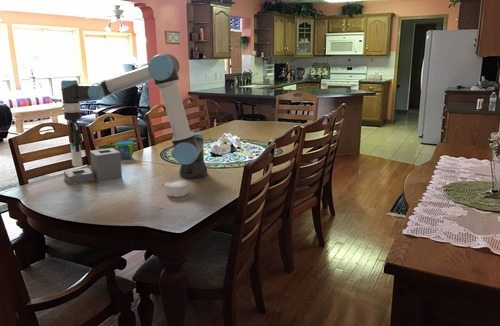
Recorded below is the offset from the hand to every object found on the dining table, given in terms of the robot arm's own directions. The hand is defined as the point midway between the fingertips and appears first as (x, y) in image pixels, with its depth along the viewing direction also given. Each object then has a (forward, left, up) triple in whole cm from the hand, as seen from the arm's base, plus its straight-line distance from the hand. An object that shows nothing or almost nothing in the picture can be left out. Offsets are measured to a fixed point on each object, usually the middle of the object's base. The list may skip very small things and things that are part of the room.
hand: (76, 156), depth 208 cm
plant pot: (+19, -21, -13) cm, 31 cm away
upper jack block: (-4, -13, -12) cm, 18 cm away
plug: (0, 0, -5) cm, 5 cm away
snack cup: (+30, -35, -13) cm, 48 cm away
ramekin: (-49, -32, -13) cm, 60 cm away
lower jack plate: (0, 0, -12) cm, 12 cm away
